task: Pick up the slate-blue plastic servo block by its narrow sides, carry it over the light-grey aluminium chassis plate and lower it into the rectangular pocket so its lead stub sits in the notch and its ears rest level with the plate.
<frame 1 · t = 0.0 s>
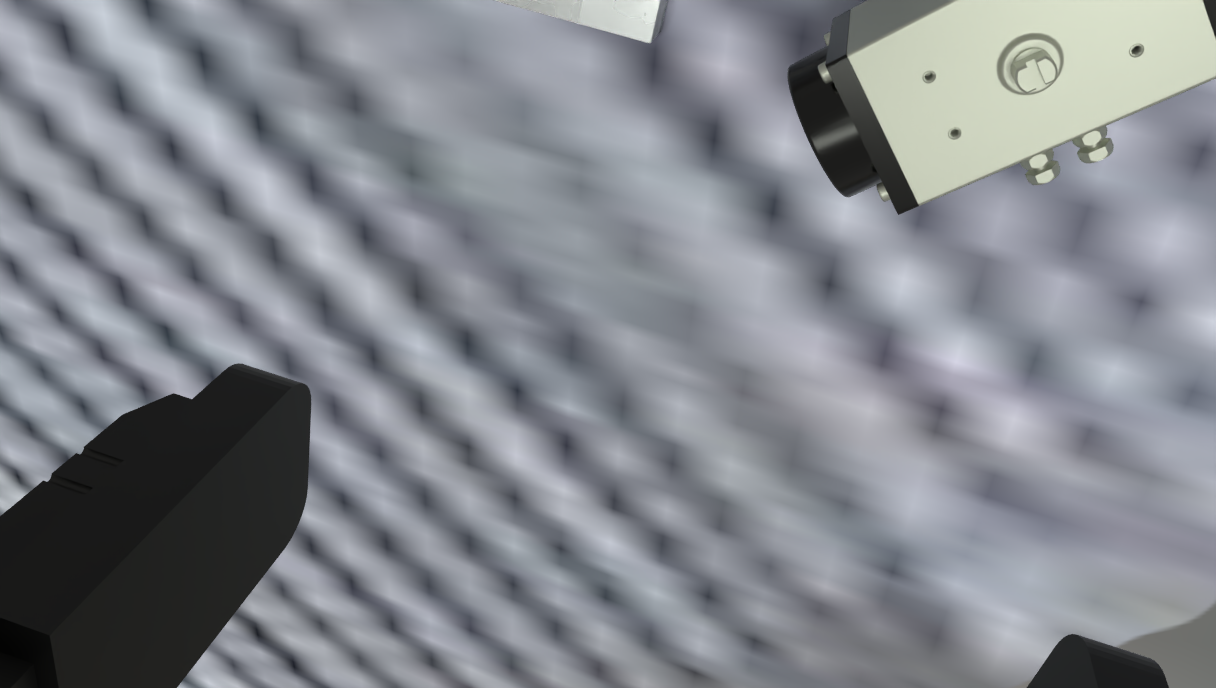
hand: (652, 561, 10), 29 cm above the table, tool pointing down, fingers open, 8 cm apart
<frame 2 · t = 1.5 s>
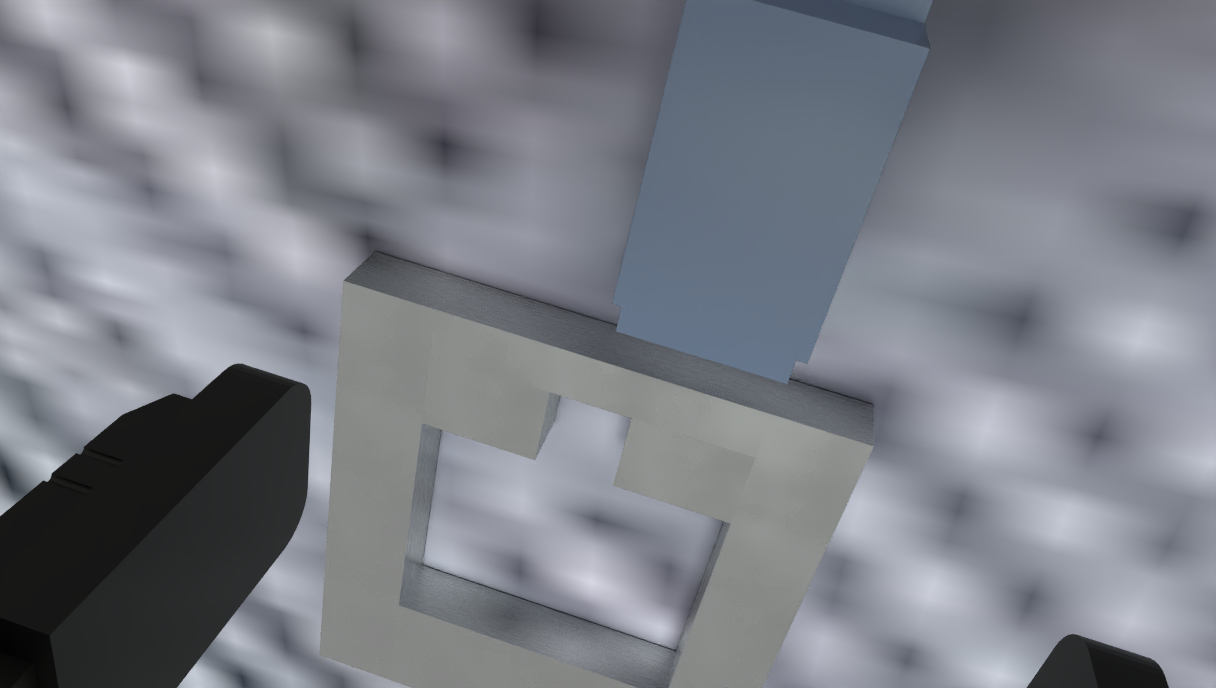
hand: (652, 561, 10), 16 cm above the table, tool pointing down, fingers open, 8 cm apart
servo block: (774, 118, 23), on the table
chassis plate: (567, 526, 31), on the table
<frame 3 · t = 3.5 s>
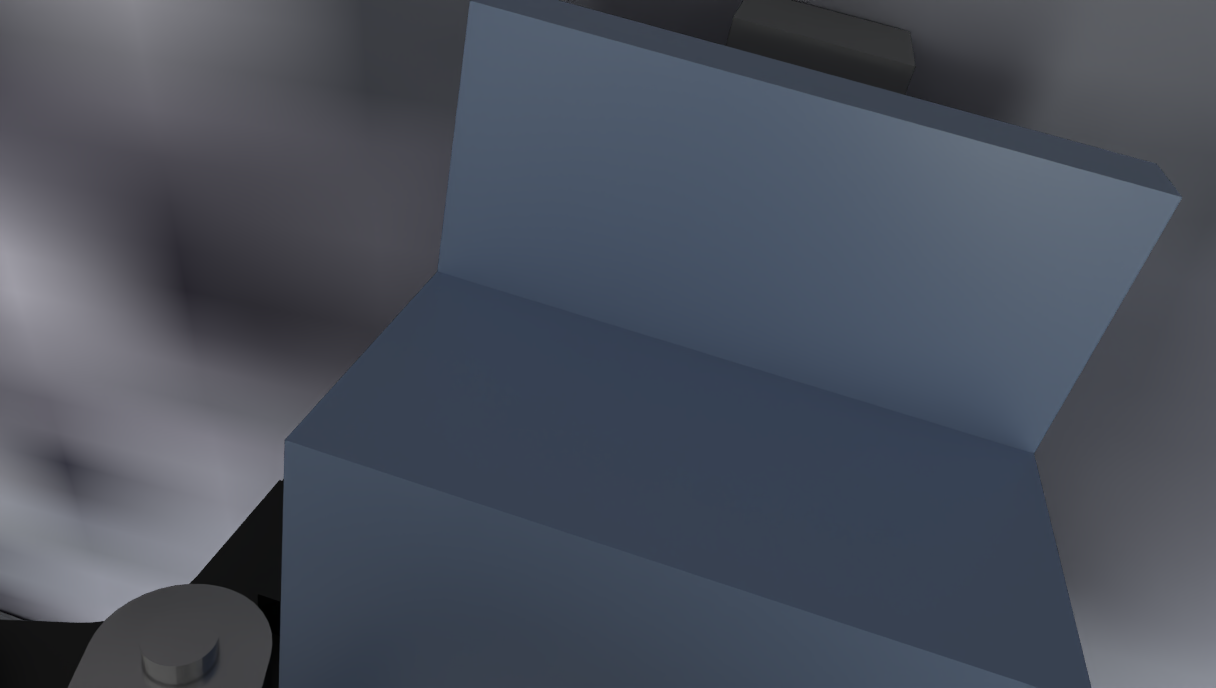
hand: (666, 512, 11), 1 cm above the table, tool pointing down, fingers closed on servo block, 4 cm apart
servo block: (677, 482, 11), on the table, touching gripper
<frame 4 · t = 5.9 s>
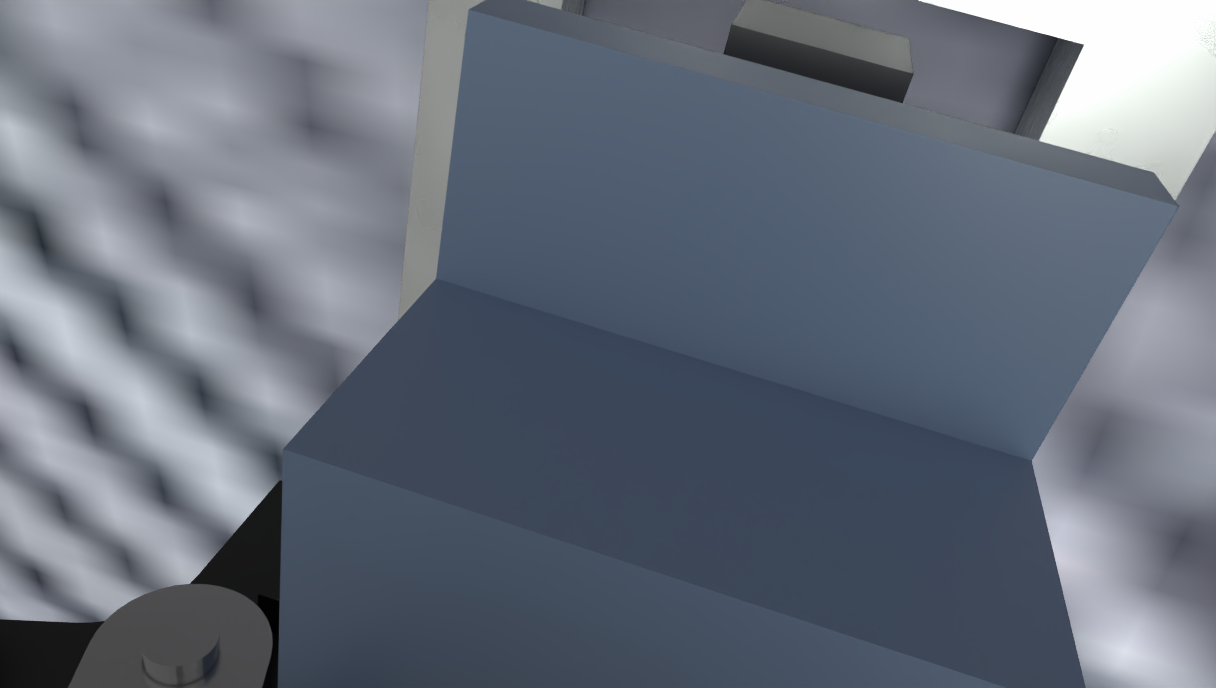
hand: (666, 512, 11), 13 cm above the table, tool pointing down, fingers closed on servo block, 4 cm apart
servo block: (676, 486, 11), point 12 cm above the table, touching gripper
chassis plate: (770, 145, 21), on the table
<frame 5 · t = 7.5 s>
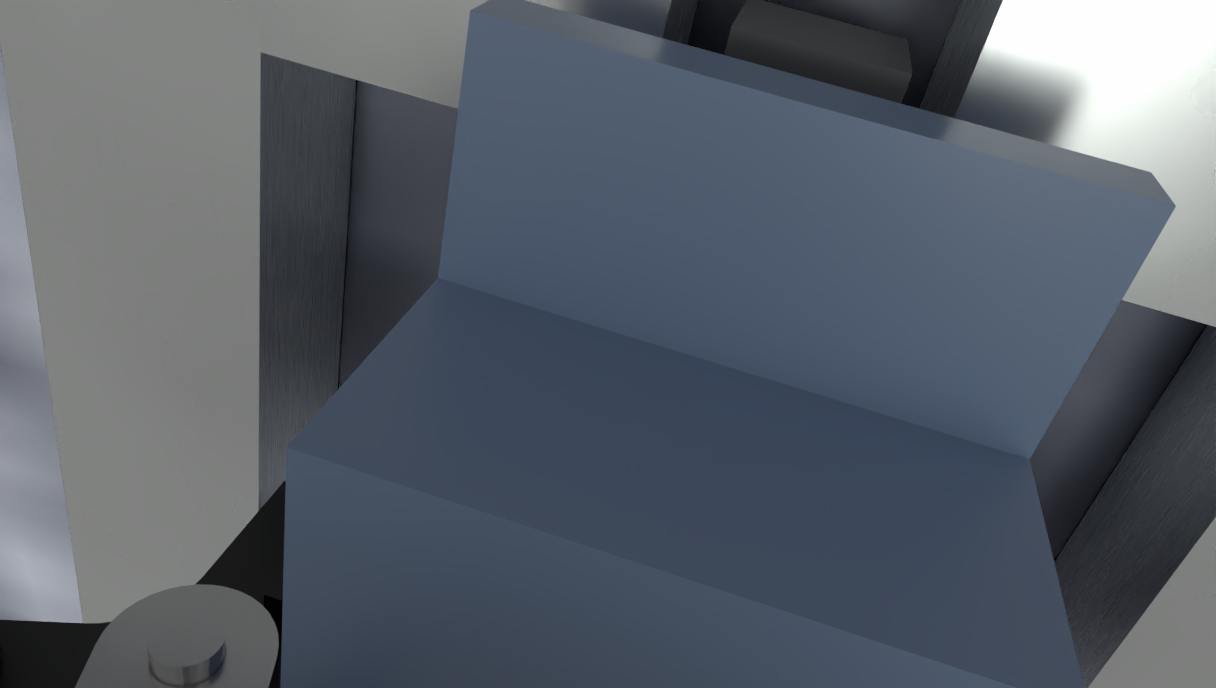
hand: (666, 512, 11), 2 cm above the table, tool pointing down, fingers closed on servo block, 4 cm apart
servo block: (676, 485, 11), point 1 cm above the table, touching gripper
chassis plate: (690, 427, 12), on the table
when the fingers open (2 cm above the table, at t = 7.7 s): servo block drops 1 cm, resting in chassis plate.
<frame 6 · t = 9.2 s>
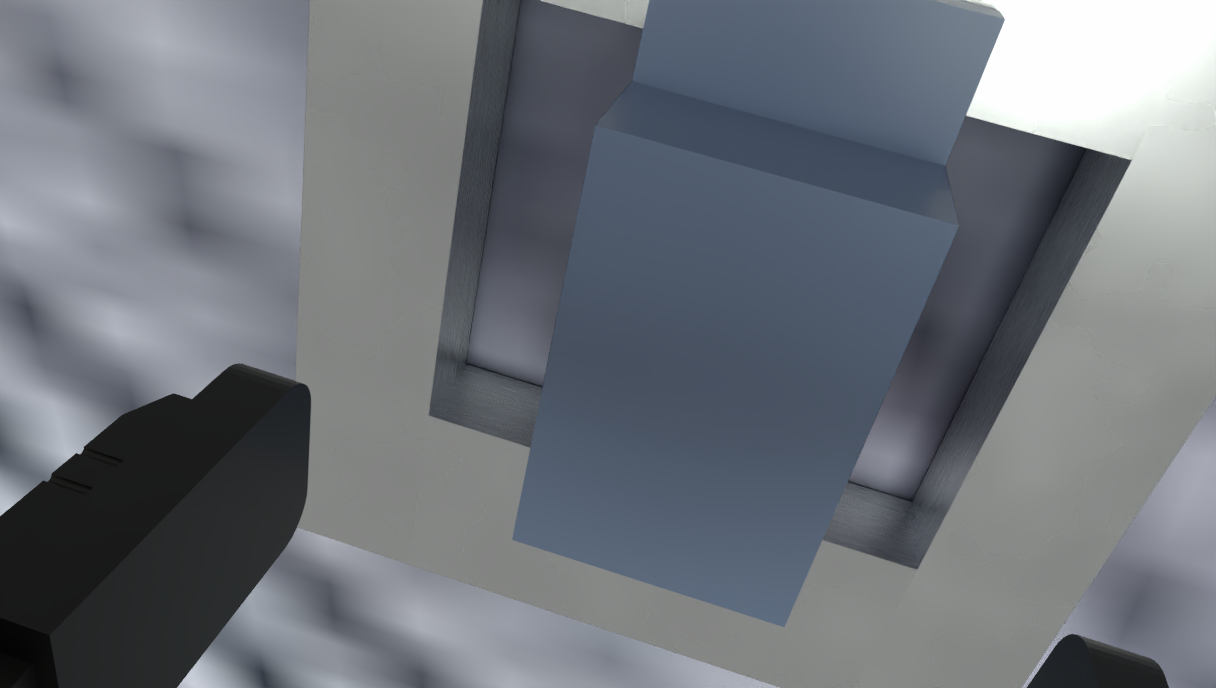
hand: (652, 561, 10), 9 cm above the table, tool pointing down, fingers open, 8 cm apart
servo block: (739, 261, 17), resting in chassis plate
chassis plate: (737, 259, 17), on the table
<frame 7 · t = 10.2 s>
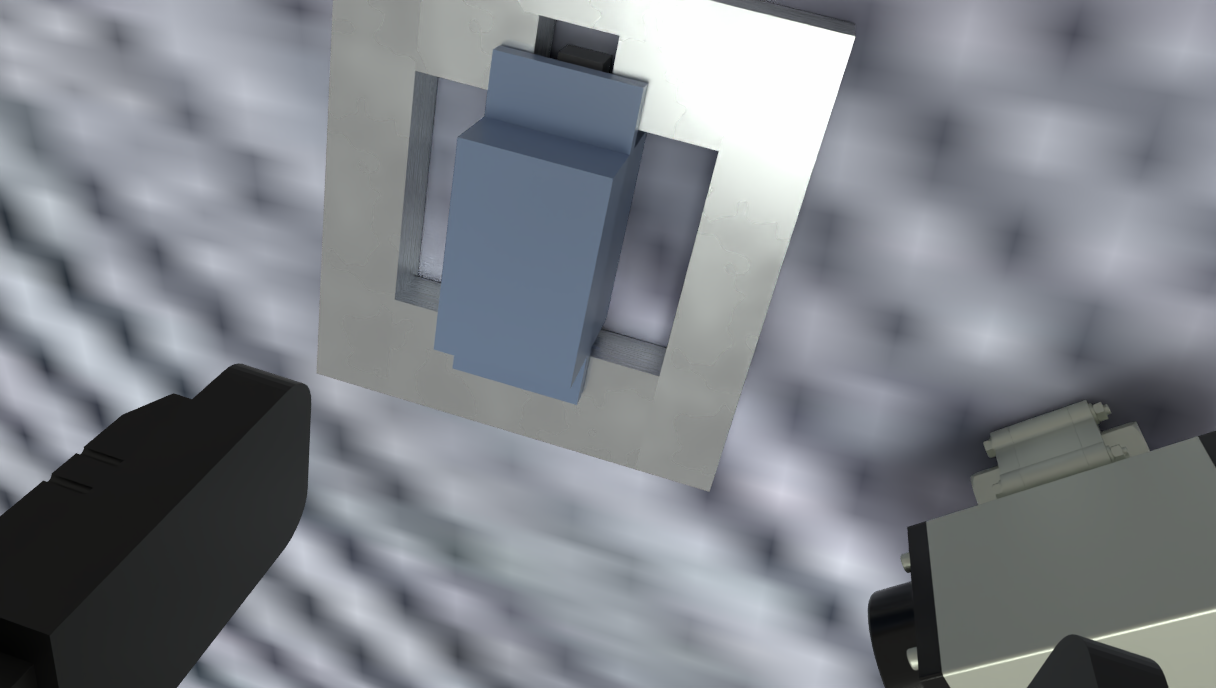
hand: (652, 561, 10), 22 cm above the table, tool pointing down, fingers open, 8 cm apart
pneumatic valve: (1058, 457, 32), on the table
servo block: (562, 211, 32), resting in chassis plate
chassis plate: (560, 210, 32), on the table
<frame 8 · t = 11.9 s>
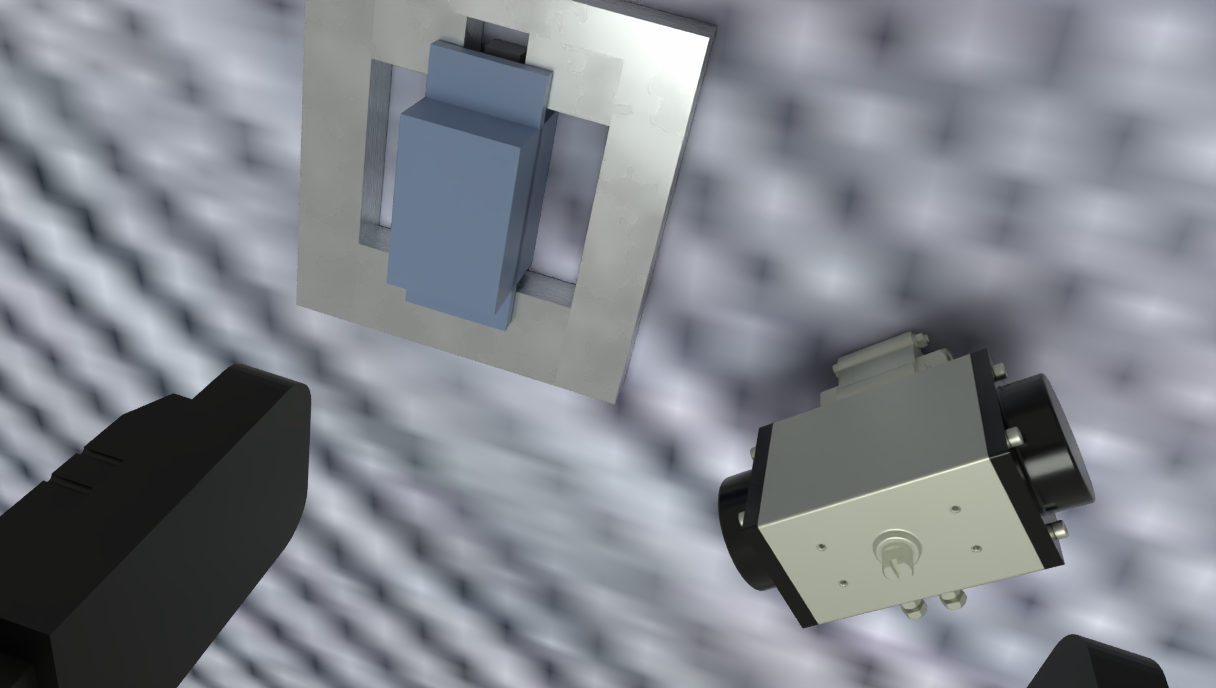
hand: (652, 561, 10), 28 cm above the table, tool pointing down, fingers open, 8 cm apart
pneumatic valve: (894, 378, 40), on the table
servo block: (494, 174, 39), resting in chassis plate
chassis plate: (492, 172, 39), on the table
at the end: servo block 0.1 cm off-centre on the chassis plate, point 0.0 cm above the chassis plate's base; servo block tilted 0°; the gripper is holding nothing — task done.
